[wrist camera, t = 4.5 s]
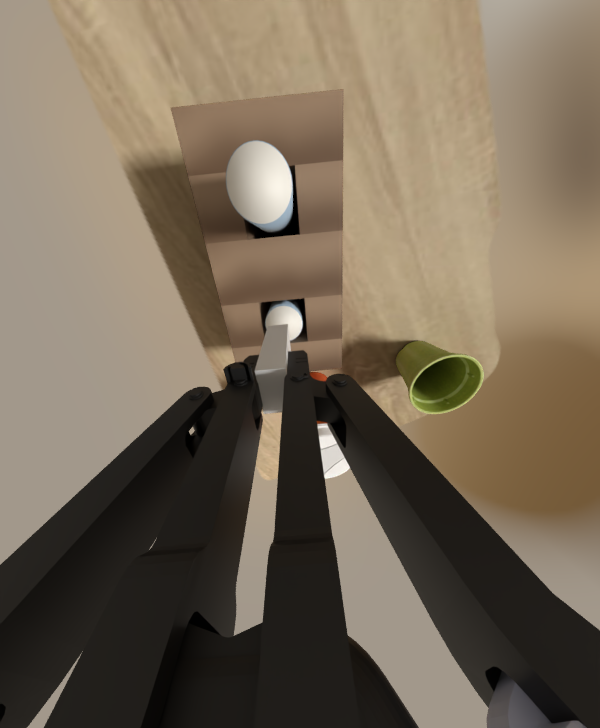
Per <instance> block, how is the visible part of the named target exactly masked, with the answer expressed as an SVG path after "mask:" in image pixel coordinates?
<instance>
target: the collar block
mask: <svg viewBox="0 0 600 728" xmlns="http://www.w3.org/2000/svg"><path fill="white" fill-rule="evenodd" d="M171 111H172V115H173V119H174V123H175V127H176V130H177V134H178V138H179V142H180V146H181V150H182V154H183V158H184V162H185V166H186V170H187V174H188V178H189V182H190V186H191V189H192V193H193V197H194V201H195V205H196V209H197V213H198V217H199V221H200V225H201V229H202V233H203V237H204V241H205V245H206V249H207V252H208V256H209V260H210V264H211V268H212V272H213V276H214V280H215V284H216V288H217V292H218V296H219V300H220V304H221V308H222V311H223V315H224V319H225V323H226V327H227V331H228V335H229V339H230V343H231V347H232V351H233V355H234V359H235V362H243V361H244V359H246V358H247V357H248V356H250V355H259V354H260V351H261V347H262V344H263V341H264V337H265V334H266V331H267V330H266V326H265V320H266V317H267V314H268V312H269V309H270V306H271V301H280V300H291V299H301V298H302V299H303V312H304V316H302V321H303V327H302V330H301V332H300V334H299V335H298V336H297V337H296V338H295V339H293V340H291V341H290V347H291V351H299V350H304V351H305V352H306V353H307V356H308V363H309V371H317V370H328V369H340V368H342V255H343V89H339V90H330V91H321V92H311V93H302V94H293V95H283V96H274V97H265V98H256V99H246V100H237V101H228V102H219V103H209V104H200V105H191V106H181V107H172V108H171ZM253 140H259V141H264V142H267V143H269V144H271V145H272V146H274V147H275V148H276V149H277V150H278V151H280V153H281V154H282V155H283V156H284V158H285V160H286V161H287V163H288V166H289V168H290V171H291V175H292V182H293V194H294V197H295V210H296V223H297V235H290V236H280V237H270V238H261V233H260V228H258V227H257V226H255V225H254V224H252V223H250V222H249V221H247V220H246V219H244V218H243V217H242V216H241V215H240V214H239V213H238V212H237V211H236V209H235V208H234V206H233V205H232V203H231V201H230V198H229V196H228V192H227V188H226V170H227V166H228V162H229V160H230V158H231V156H232V154H233V153H234V151H235V150H236V149H237V148H238V147H239V146H241V145H242V144H244V143H246V142H248V141H253Z"/></svg>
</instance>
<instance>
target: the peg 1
mask: <svg viewBox="0 0 600 728" xmlns="http://www.w3.org/2000/svg"><path fill="white" fill-rule="evenodd" d="M226 188H227V192H228V196H229V198H230V201H231V203H232V205H233V206H234V208H235V209H236V211H237V212H238V213H239V214H240V215H241V216H242V217H243V218H244V219H246V220H247V221H249V222H250V223H252V224H254V225H255V226H257V227H258V228H260V229H262V230H263V231H265V232H266V233H269V234H273V235H276V234H280V233H282V232H284V231H285V230H286V229H287V228H288V227H289V225H290V224H291V221H292V217H293V182H292V175H291V171H290V168H289V166H288V163H287V161H286V160H285V158H284V156H283V155H282V154H281V153H280V151H278V150H277V149H276V148H275V147H274V146H272V145H271V144H269V143H267V142H264V141H259V140H253V141H248V142H246V143H244V144H242V145H241V146H239V147H238V148H237V149H236V150H235V151H234V153H233V154H232V156H231V158H230V160H229V162H228V166H227V170H226Z"/></svg>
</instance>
